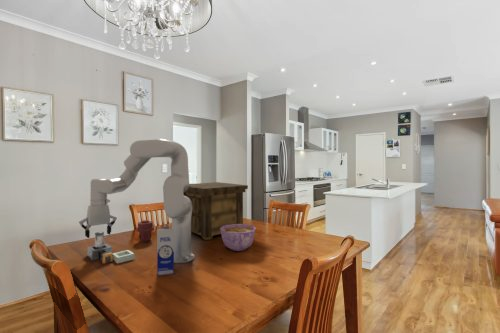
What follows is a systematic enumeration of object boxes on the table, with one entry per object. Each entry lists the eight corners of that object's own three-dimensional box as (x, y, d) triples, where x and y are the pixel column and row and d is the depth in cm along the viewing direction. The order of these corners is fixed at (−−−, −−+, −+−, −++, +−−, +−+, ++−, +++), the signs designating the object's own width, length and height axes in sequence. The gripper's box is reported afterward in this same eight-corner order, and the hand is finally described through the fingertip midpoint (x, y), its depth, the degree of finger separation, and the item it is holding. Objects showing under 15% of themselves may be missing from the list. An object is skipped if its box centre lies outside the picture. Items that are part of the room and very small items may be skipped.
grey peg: (105, 255, 138) (104, 232, 138) (96, 257, 135) (96, 234, 135) (102, 253, 141) (102, 231, 140) (94, 255, 138) (93, 232, 138)
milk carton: (157, 275, 114) (156, 229, 113) (157, 269, 120) (157, 225, 120) (174, 273, 116) (174, 228, 115) (174, 267, 122) (174, 224, 122)
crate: (247, 232, 183) (247, 185, 182) (203, 243, 159) (203, 188, 158) (217, 223, 208) (217, 182, 208) (176, 231, 185) (176, 184, 184)
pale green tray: (134, 259, 133) (134, 253, 133) (117, 263, 127) (117, 257, 127) (128, 255, 139) (128, 249, 139) (111, 259, 133) (111, 253, 133)
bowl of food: (252, 256, 138) (252, 233, 138) (215, 253, 142) (215, 231, 142) (258, 244, 158) (258, 224, 157) (226, 242, 162) (226, 223, 161)
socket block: (111, 255, 138) (111, 247, 138) (92, 260, 131) (92, 251, 131) (106, 251, 144) (106, 243, 144) (87, 255, 138) (87, 247, 138)
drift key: (112, 261, 130) (112, 253, 130) (103, 263, 127) (103, 255, 127) (105, 256, 137) (105, 248, 137) (97, 258, 134) (97, 250, 134)
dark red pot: (141, 238, 170) (156, 238, 169) (133, 242, 160) (149, 243, 159) (141, 218, 169) (156, 219, 168) (133, 222, 159) (149, 222, 158)
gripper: (114, 200, 146) (113, 231, 146) (77, 203, 134) (77, 237, 134) (119, 202, 141) (118, 234, 141) (81, 205, 128) (80, 240, 129)
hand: (98, 235), depth 138 cm, fingers open, 9 cm apart
